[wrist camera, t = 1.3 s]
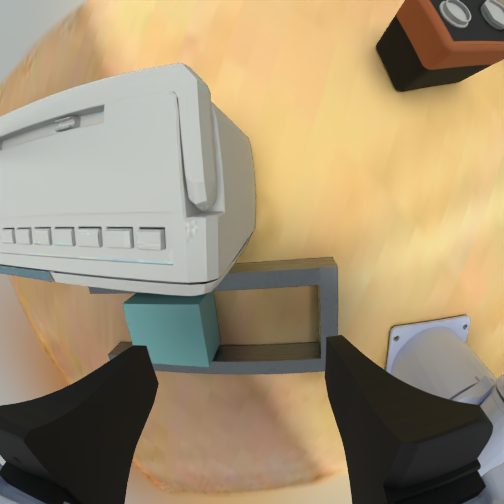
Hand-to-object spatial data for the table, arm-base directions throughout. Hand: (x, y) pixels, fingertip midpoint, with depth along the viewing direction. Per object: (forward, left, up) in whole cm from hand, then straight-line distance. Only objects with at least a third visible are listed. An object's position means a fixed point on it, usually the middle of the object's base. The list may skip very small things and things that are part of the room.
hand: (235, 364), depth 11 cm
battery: (+16, -14, -12) cm, 24 cm away
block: (-3, +7, -12) cm, 14 cm away
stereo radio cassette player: (+8, +10, -12) cm, 18 cm away
